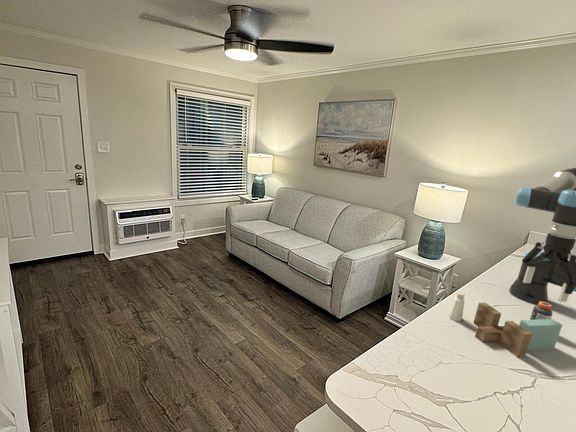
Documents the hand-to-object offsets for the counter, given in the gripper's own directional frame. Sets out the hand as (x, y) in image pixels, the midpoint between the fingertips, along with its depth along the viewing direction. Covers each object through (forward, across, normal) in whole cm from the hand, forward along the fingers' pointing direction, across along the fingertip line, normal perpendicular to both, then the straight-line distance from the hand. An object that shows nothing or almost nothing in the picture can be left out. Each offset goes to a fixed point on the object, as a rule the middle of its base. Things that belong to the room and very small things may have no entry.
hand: (543, 291), depth 112 cm
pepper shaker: (+20, -15, -20) cm, 32 cm away
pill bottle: (+20, -7, +12) cm, 24 cm away
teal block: (+20, +4, -1) cm, 21 cm away
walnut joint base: (+20, -1, -12) cm, 24 cm away
